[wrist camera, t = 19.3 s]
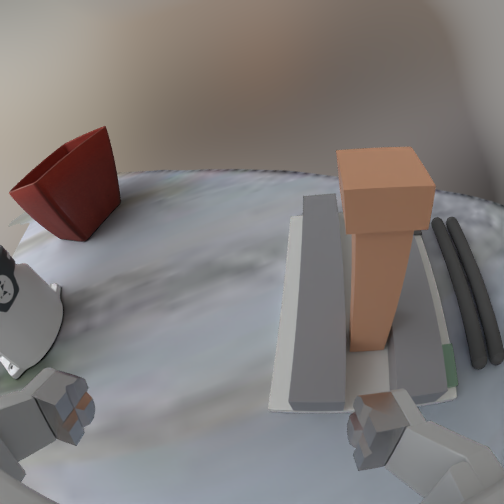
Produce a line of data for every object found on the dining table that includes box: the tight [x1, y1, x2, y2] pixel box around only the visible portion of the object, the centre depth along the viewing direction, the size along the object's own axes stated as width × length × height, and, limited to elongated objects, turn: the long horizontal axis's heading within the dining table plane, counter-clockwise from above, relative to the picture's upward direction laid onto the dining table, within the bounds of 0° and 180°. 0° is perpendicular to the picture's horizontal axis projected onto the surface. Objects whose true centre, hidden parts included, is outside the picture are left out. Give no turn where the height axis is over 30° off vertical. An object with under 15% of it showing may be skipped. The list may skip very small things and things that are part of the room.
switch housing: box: [268, 194, 458, 413], centre depth 26 cm, size 16×24×4 cm
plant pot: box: [9, 126, 121, 241], centre depth 50 cm, size 19×19×17 cm
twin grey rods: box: [432, 217, 504, 370], centre depth 23 cm, size 4×20×2 cm, turn 171°
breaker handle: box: [336, 147, 436, 352], centre depth 17 cm, size 4×4×16 cm
